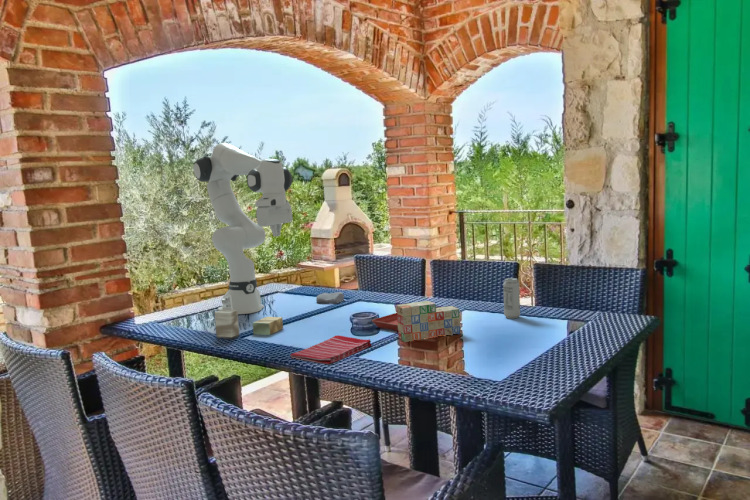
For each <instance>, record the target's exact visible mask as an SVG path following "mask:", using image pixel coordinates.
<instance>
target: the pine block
mask: <svg viewBox="0 0 750 500" xmlns="http://www.w3.org/2000/svg"><path fill="white" fill-rule="evenodd" d="M238 315H239V314H238V313H237V310H220V311H219V310H217V311H215V312H214V321H215V330H216V331H215V332H216V339H219V338H224V339H225V340H234V339H237V338H239V337H240V327H239V316H238ZM238 336H239V337H238ZM224 339H223V340H224Z"/></svg>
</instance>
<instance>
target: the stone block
mask: <svg viewBox="0 0 750 500" xmlns="http://www.w3.org/2000/svg"><path fill="white" fill-rule="evenodd" d="M344 298H345V295H344V293H343V292H342V291H337V292H336V291H335V292H332V293H328V292H323V293H320V294H318V295H316V303H320V304H329V303H333V304H339V302H340V303H341V302H343V301H344ZM342 300H343V301H342Z"/></svg>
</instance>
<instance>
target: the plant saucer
mask: <svg viewBox="0 0 750 500" xmlns="http://www.w3.org/2000/svg"><path fill="white" fill-rule="evenodd" d="M371 322H372V323H373V324H374V325H375V326H376V327H378V328H380V329H387V330H391V331H397V332H398V322H397V312H394V313H391V314H388V315H385V316H380V317H378V318H374V319H371Z"/></svg>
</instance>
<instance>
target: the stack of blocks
mask: <svg viewBox="0 0 750 500" xmlns="http://www.w3.org/2000/svg"><path fill="white" fill-rule="evenodd" d="M396 313H397V322H398V331H397V333H398V335H397V336H398V339H399V340H401V341H402V342H404V343H409V341H410V342H415V341H414V340H417V341H419V340H418V339H424V338H429V337H432V336H438V335H451V336H454V335H453V334H458V335H460V334H461V316H460V308H458V307H455V306H453V305H449V306H441V307H437V306H436V303H435V302H432V301H429V300H424V301H416V302H410V303H409V302H408V303H402V304H396ZM424 340H425V339H424Z"/></svg>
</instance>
